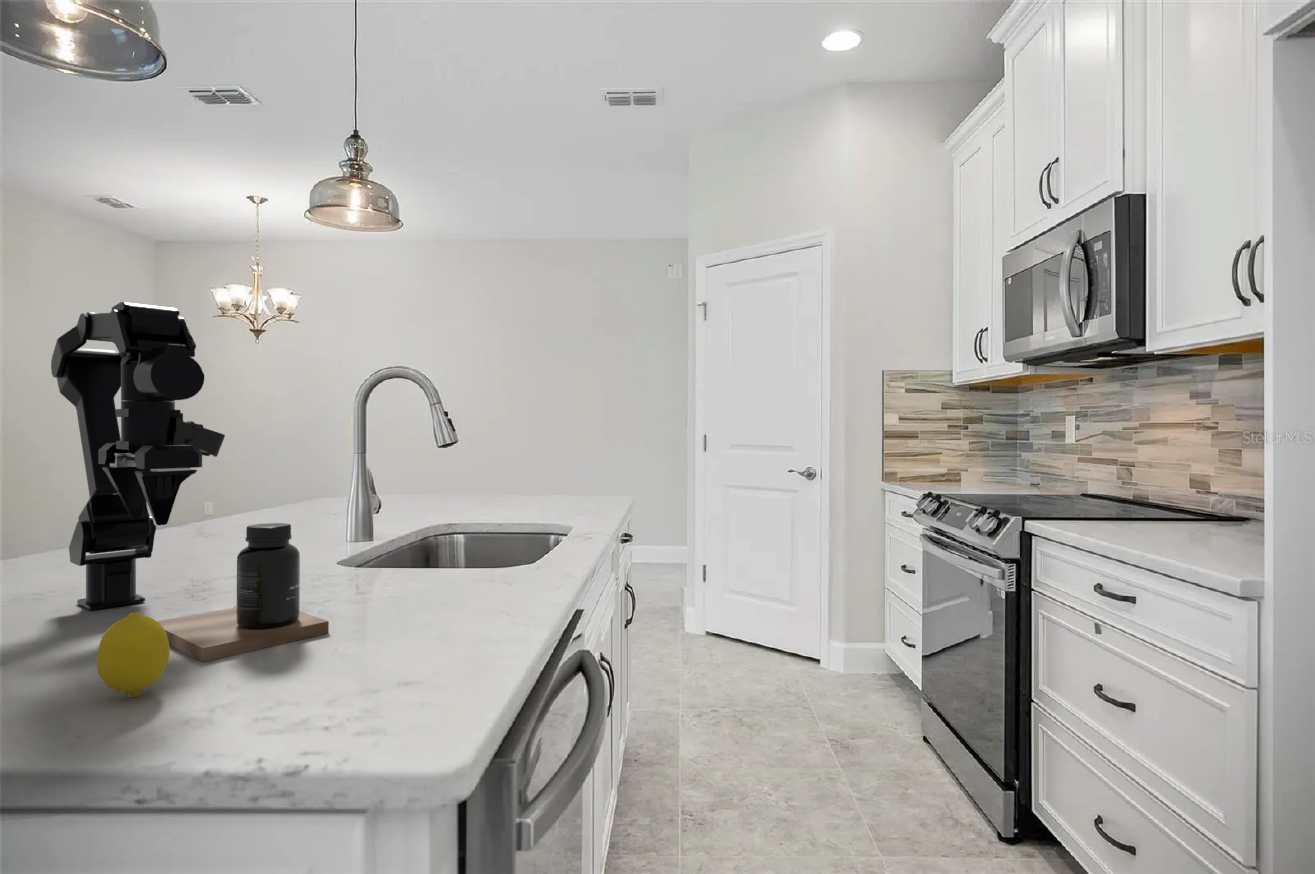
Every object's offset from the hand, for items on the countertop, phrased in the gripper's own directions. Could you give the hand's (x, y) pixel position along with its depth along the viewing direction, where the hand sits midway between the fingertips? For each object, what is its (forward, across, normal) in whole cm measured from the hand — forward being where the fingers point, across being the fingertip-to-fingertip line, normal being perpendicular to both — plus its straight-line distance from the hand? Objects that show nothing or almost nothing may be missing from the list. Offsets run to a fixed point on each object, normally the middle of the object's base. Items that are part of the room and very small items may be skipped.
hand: (148, 521), depth 93 cm
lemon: (+13, -29, +10) cm, 33 cm away
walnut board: (+13, -15, -5) cm, 20 cm away
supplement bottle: (+12, -18, -7) cm, 23 cm away
